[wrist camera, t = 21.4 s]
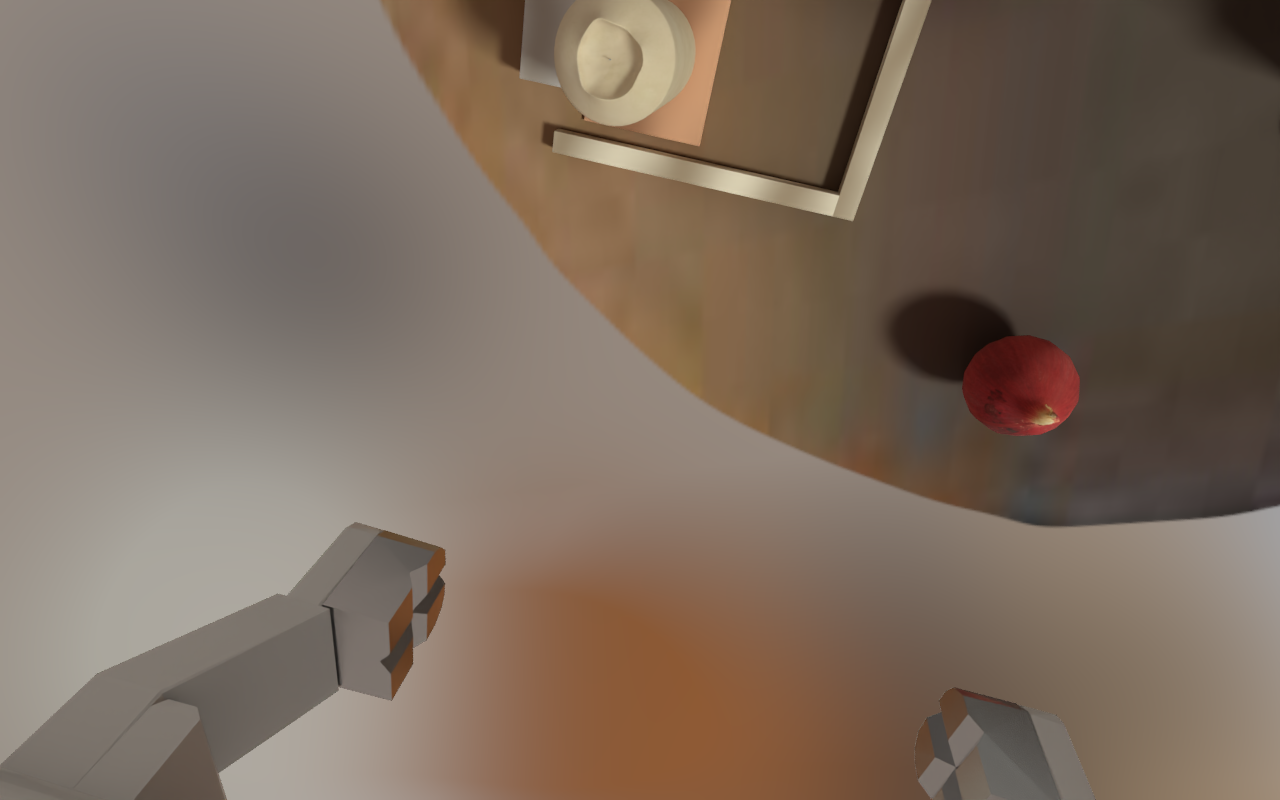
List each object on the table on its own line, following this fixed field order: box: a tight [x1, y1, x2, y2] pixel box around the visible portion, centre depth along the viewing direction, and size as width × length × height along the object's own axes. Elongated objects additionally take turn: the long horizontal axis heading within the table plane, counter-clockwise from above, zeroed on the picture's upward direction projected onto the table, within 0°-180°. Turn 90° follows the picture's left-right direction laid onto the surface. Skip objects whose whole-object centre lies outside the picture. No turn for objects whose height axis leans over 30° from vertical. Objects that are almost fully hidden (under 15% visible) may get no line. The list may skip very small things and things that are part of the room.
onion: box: [962, 335, 1080, 436], centre depth 37 cm, size 6×6×8 cm
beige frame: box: [520, 0, 931, 221], centre depth 35 cm, size 20×12×2 cm, turn 79°
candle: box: [554, 0, 696, 126], centre depth 31 cm, size 6×6×10 cm
